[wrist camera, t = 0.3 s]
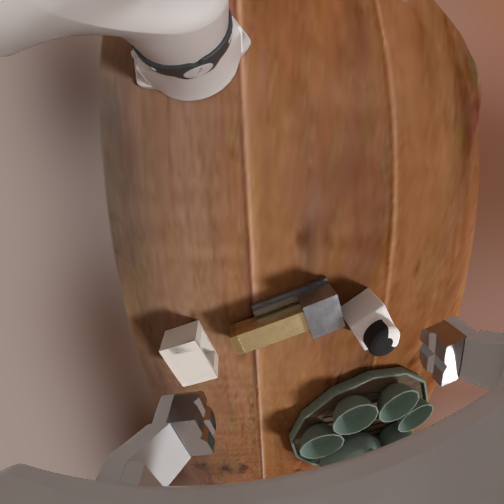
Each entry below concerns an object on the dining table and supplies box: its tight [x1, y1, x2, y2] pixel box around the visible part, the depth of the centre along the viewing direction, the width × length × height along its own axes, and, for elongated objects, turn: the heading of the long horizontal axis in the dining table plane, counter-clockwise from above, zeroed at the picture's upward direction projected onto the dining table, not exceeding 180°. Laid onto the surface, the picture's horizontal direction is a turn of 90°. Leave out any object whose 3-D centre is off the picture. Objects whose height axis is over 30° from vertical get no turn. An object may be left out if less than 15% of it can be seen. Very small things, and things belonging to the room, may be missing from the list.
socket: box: [159, 320, 218, 387], centre depth 51 cm, size 9×7×6 cm
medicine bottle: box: [341, 288, 400, 356], centre depth 49 cm, size 7×7×12 cm
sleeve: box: [251, 276, 345, 339], centre depth 50 cm, size 8×14×6 cm, turn 110°
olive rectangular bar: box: [229, 301, 309, 355], centre depth 50 cm, size 4×16×4 cm, turn 110°
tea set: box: [289, 367, 433, 467], centre depth 59 cm, size 40×40×16 cm
